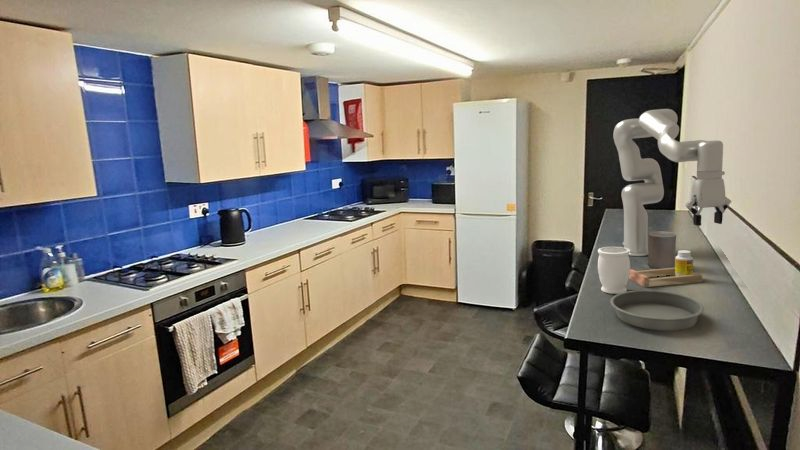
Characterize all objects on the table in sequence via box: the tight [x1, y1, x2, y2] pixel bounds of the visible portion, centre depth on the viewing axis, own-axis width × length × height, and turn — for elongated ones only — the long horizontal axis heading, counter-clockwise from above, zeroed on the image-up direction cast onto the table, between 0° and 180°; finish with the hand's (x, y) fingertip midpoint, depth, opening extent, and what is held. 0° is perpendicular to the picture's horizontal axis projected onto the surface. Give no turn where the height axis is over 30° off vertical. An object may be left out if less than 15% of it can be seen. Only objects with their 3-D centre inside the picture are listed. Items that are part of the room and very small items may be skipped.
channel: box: [628, 267, 703, 288], centre depth 170 cm, size 12×21×4 cm, turn 92°
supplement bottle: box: [674, 249, 694, 276], centre depth 170 cm, size 6×6×10 cm
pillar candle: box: [647, 230, 677, 269], centre depth 185 cm, size 10×10×15 cm
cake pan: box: [610, 289, 705, 331], centre depth 139 cm, size 25×25×4 cm
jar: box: [597, 246, 631, 295], centre depth 163 cm, size 11×10×15 cm
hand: (707, 223), depth 168 cm, fingers open, 7 cm apart
